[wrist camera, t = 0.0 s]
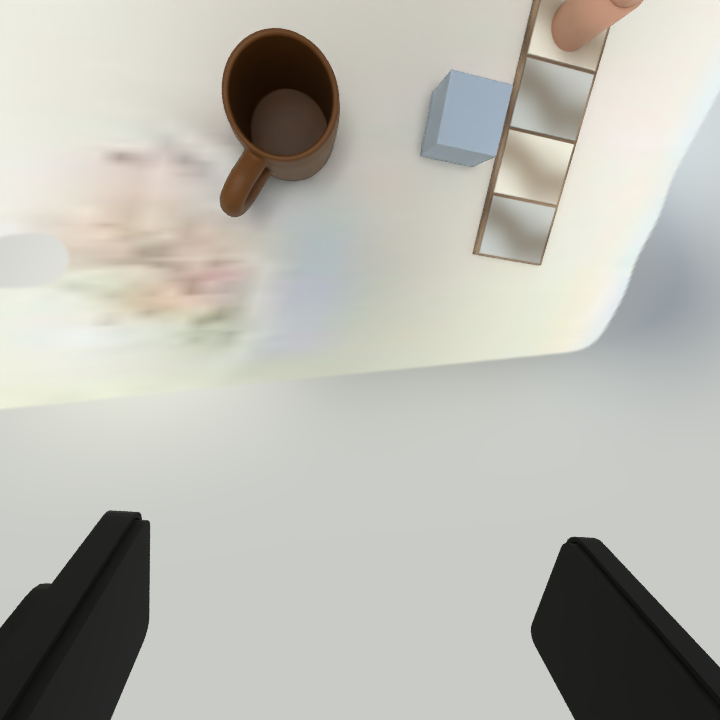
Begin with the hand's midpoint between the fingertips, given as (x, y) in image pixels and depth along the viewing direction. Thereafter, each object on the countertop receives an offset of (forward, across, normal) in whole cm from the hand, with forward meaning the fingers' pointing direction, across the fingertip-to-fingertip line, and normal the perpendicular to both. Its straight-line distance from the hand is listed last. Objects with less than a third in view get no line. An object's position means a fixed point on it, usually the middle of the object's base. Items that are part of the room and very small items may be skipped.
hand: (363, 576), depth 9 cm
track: (+31, -17, -19) cm, 40 cm away
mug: (+31, +6, -13) cm, 35 cm away
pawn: (+30, -17, -27) cm, 44 cm away
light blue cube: (+31, -9, -18) cm, 37 cm away
